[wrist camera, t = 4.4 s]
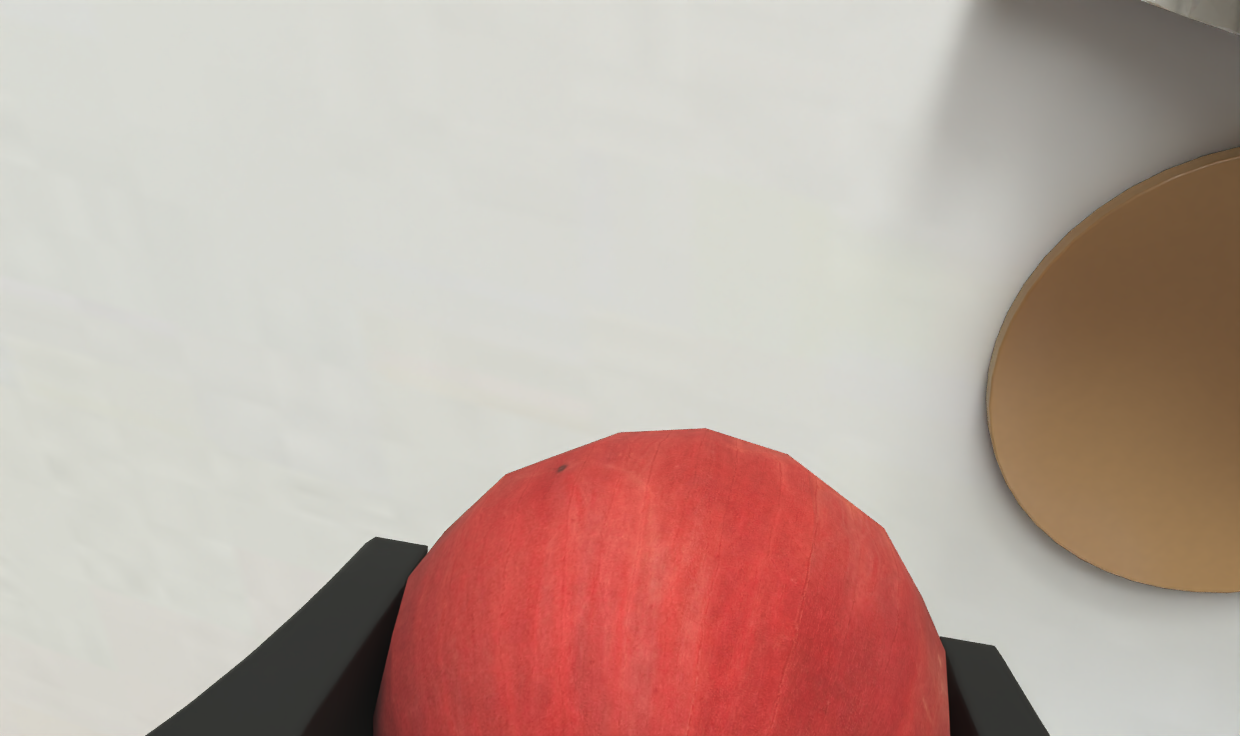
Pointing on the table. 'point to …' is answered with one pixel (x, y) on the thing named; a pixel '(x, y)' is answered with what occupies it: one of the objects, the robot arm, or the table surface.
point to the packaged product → (1206, 12)
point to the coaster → (1132, 383)
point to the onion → (663, 605)
